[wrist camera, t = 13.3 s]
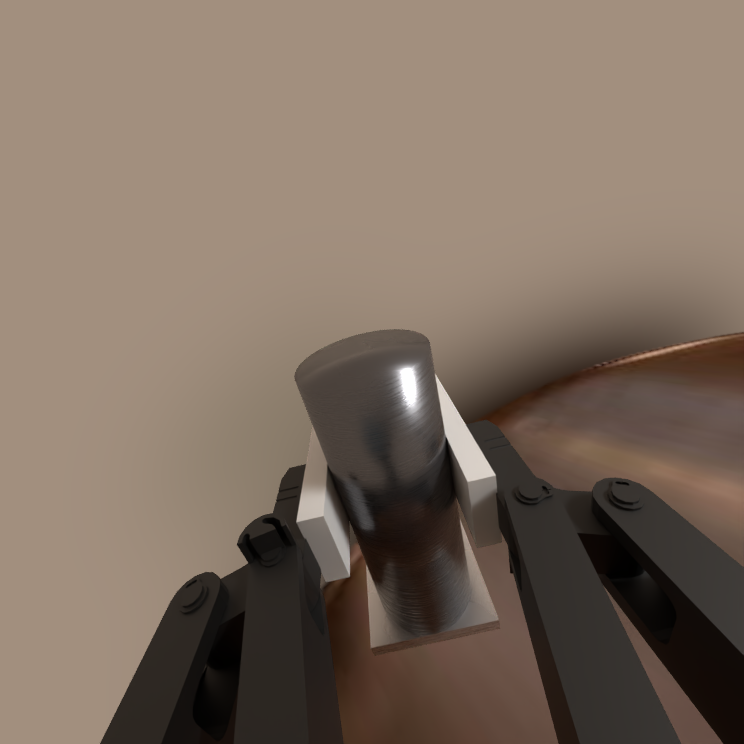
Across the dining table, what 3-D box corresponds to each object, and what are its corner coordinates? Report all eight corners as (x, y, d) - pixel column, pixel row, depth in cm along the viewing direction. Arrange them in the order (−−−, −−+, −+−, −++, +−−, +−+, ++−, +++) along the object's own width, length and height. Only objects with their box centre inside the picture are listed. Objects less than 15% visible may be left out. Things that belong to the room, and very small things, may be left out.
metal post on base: (434, 457, 21) (401, 286, 16) (499, 628, 12) (469, 362, 7) (362, 474, 22) (308, 310, 17) (374, 656, 12) (262, 412, 8)
